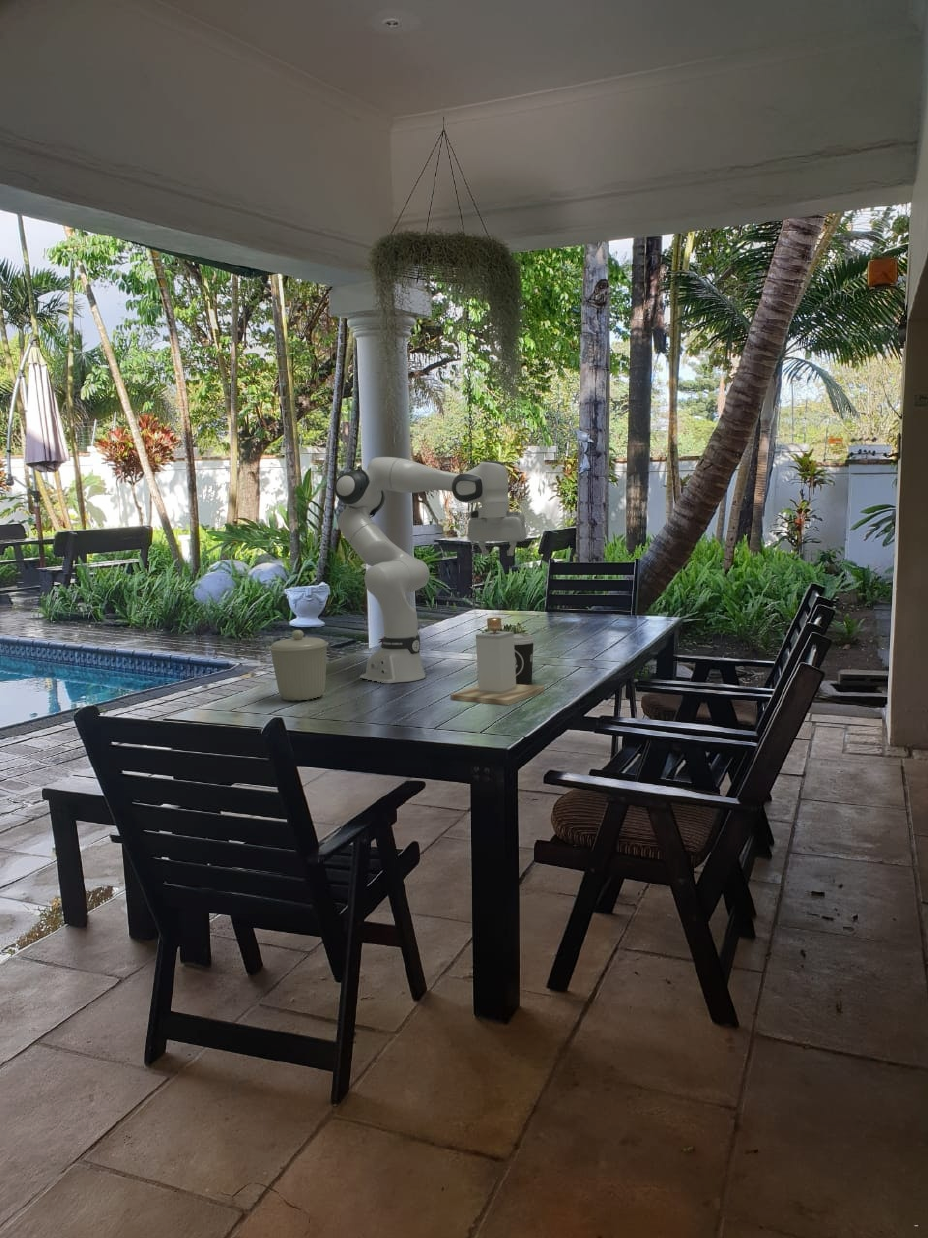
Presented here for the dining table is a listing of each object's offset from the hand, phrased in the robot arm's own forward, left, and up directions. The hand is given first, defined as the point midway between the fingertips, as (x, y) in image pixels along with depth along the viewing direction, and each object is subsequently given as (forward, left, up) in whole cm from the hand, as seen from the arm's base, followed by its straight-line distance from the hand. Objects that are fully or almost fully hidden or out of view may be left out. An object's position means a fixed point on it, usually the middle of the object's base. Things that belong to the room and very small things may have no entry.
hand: (497, 555), depth 311 cm
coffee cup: (+11, -7, -39) cm, 41 cm away
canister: (-41, -50, -39) cm, 76 cm away
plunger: (+14, -25, -37) cm, 47 cm away
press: (+14, -24, -38) cm, 47 cm away
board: (+14, -25, -39) cm, 48 cm away
